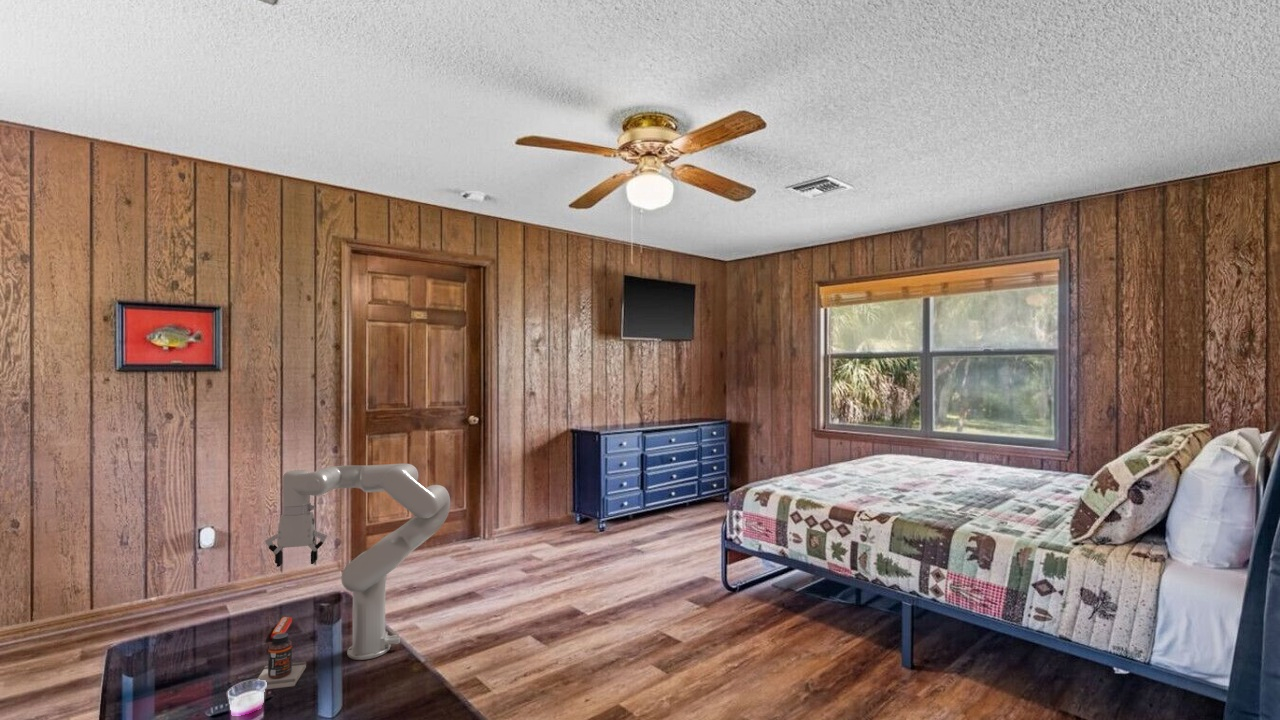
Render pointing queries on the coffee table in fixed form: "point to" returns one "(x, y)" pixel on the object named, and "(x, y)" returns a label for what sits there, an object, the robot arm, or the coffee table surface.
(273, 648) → the supplement bottle
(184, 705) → the coffee table surface
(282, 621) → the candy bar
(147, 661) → the coffee table surface
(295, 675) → the mat
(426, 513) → the robot arm
